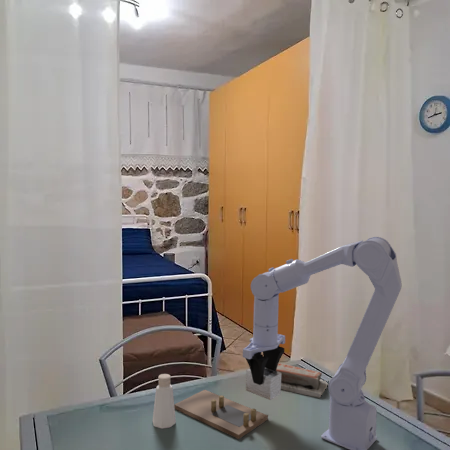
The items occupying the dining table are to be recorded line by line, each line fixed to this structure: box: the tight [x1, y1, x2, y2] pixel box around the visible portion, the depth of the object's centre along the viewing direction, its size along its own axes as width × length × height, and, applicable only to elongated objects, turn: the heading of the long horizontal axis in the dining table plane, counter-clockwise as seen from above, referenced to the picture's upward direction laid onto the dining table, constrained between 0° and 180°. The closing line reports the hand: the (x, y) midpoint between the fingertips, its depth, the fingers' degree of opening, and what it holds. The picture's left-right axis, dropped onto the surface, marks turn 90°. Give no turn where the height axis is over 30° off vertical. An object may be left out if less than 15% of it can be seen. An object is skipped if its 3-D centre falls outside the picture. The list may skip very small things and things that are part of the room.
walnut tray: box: [174, 389, 269, 440], centre depth 104 cm, size 20×11×4 cm, turn 50°
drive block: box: [245, 368, 282, 401], centre depth 104 cm, size 7×4×5 cm, turn 50°
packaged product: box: [276, 362, 329, 399], centre depth 122 cm, size 18×5×10 cm
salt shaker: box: [152, 373, 177, 429], centre depth 100 cm, size 5×5×11 cm
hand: (263, 379), depth 104 cm, fingers closed on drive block, 4 cm apart
